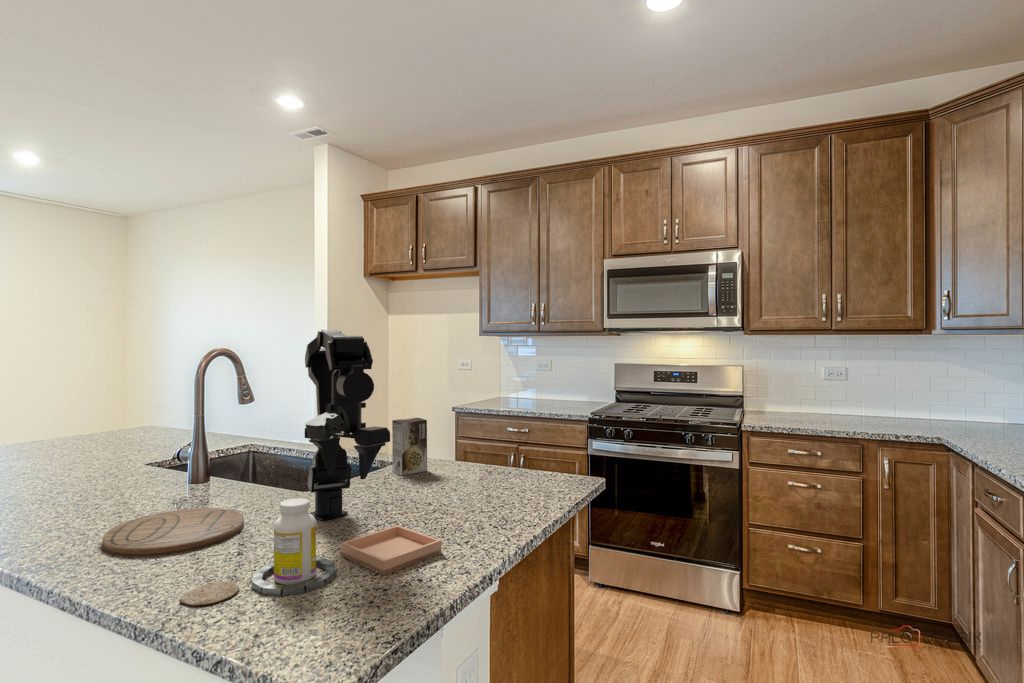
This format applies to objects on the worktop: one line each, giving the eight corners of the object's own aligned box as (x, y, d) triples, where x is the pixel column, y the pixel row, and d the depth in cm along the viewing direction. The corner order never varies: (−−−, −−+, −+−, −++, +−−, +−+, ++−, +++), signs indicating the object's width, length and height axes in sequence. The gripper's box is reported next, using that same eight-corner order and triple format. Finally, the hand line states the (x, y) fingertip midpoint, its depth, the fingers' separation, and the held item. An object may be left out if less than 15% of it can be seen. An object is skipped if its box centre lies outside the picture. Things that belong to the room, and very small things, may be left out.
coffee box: (417, 467, 175) (417, 417, 175) (427, 471, 170) (428, 419, 170) (391, 471, 169) (391, 419, 169) (401, 475, 164) (401, 421, 164)
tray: (340, 555, 102) (340, 542, 102) (397, 536, 112) (397, 525, 112) (384, 575, 94) (384, 561, 94) (441, 553, 104) (441, 540, 104)
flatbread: (227, 581, 92) (227, 575, 92) (246, 595, 87) (246, 589, 87) (172, 598, 86) (172, 592, 86) (189, 614, 81) (190, 607, 81)
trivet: (248, 511, 130) (248, 503, 130) (237, 548, 107) (237, 538, 107) (123, 523, 121) (124, 514, 121) (82, 566, 98) (82, 555, 98)
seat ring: (238, 579, 92) (238, 573, 92) (310, 556, 102) (310, 551, 102) (276, 603, 84) (276, 596, 84) (350, 576, 94) (350, 570, 94)
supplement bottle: (303, 566, 97) (303, 494, 98) (323, 576, 93) (324, 501, 93) (266, 579, 92) (266, 502, 92) (286, 590, 88) (286, 510, 88)
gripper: (281, 399, 108) (281, 478, 108) (348, 404, 98) (348, 491, 98) (327, 394, 117) (326, 468, 117) (392, 399, 108) (392, 478, 108)
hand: (346, 476), depth 110 cm, fingers open, 9 cm apart
